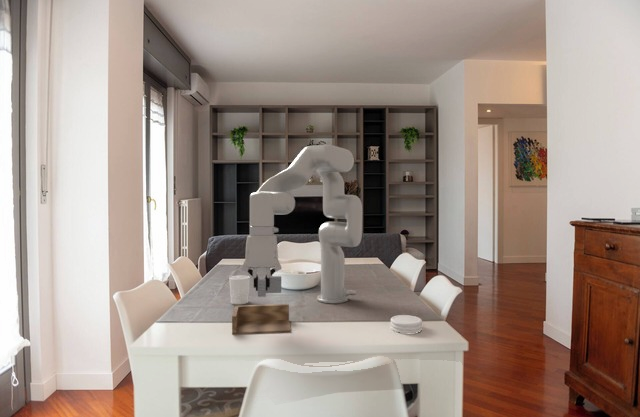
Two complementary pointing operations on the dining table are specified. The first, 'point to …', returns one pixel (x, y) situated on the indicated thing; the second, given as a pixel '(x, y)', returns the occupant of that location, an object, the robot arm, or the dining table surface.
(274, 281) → the bracket
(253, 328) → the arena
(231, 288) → the white cup
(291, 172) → the robot arm
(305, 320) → the dining table surface
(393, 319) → the coaster
